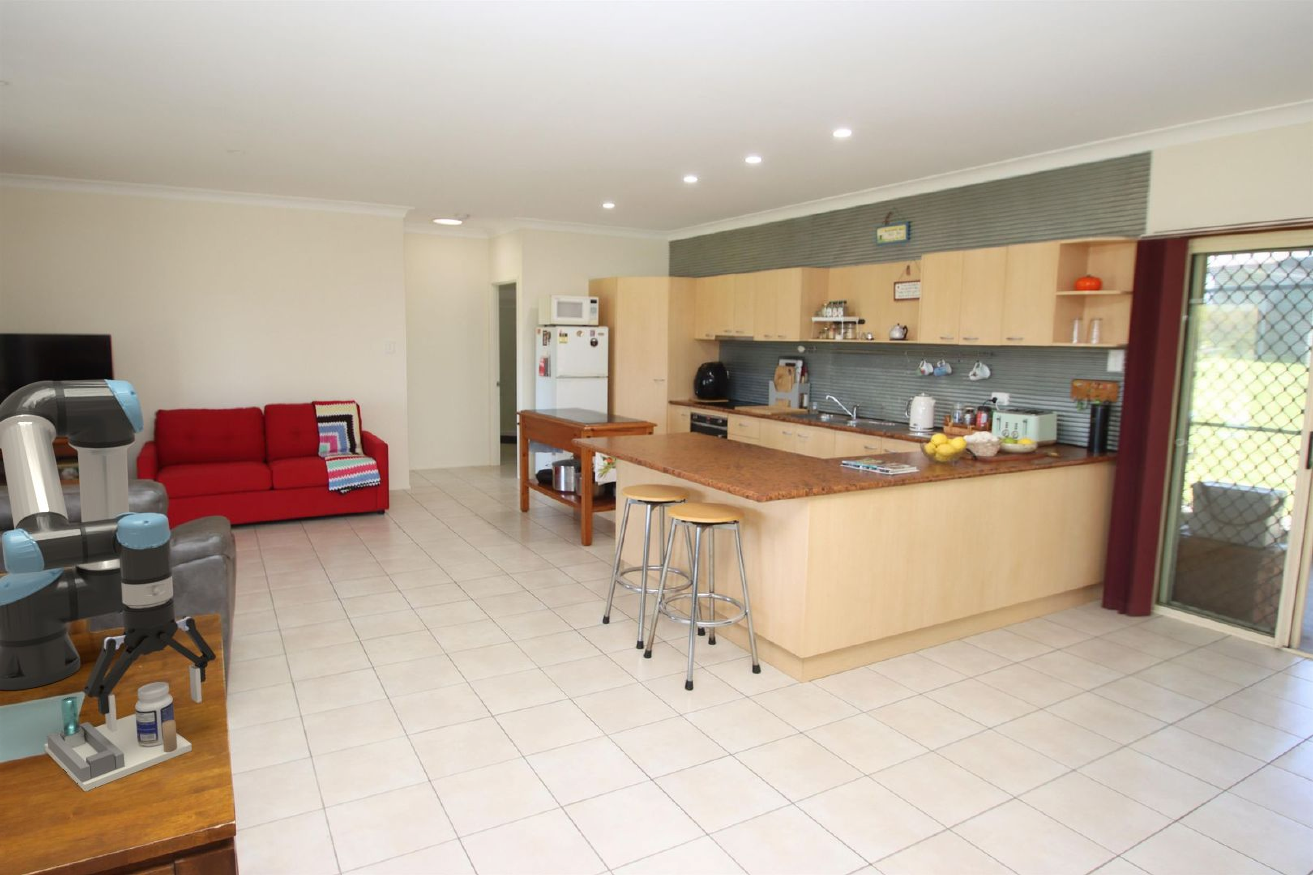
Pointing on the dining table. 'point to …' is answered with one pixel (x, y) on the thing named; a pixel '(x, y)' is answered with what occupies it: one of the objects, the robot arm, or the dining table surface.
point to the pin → (71, 723)
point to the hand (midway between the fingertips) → (155, 713)
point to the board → (129, 750)
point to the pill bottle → (153, 712)
